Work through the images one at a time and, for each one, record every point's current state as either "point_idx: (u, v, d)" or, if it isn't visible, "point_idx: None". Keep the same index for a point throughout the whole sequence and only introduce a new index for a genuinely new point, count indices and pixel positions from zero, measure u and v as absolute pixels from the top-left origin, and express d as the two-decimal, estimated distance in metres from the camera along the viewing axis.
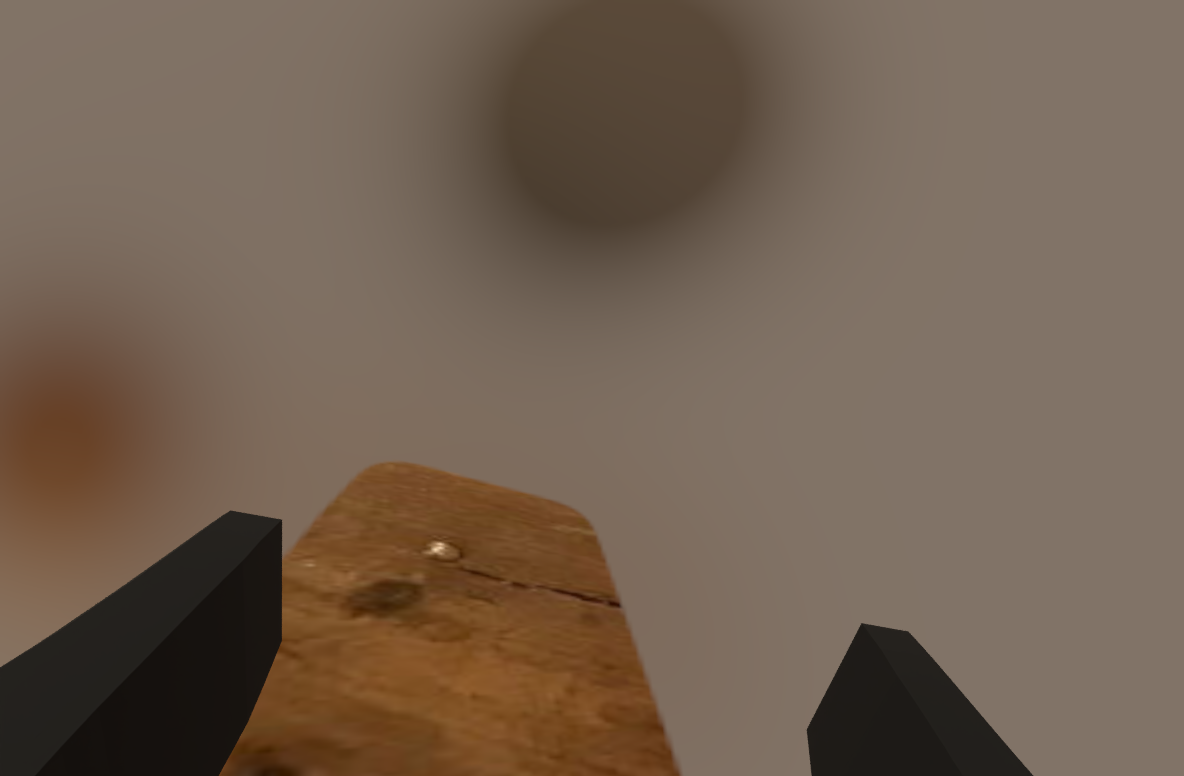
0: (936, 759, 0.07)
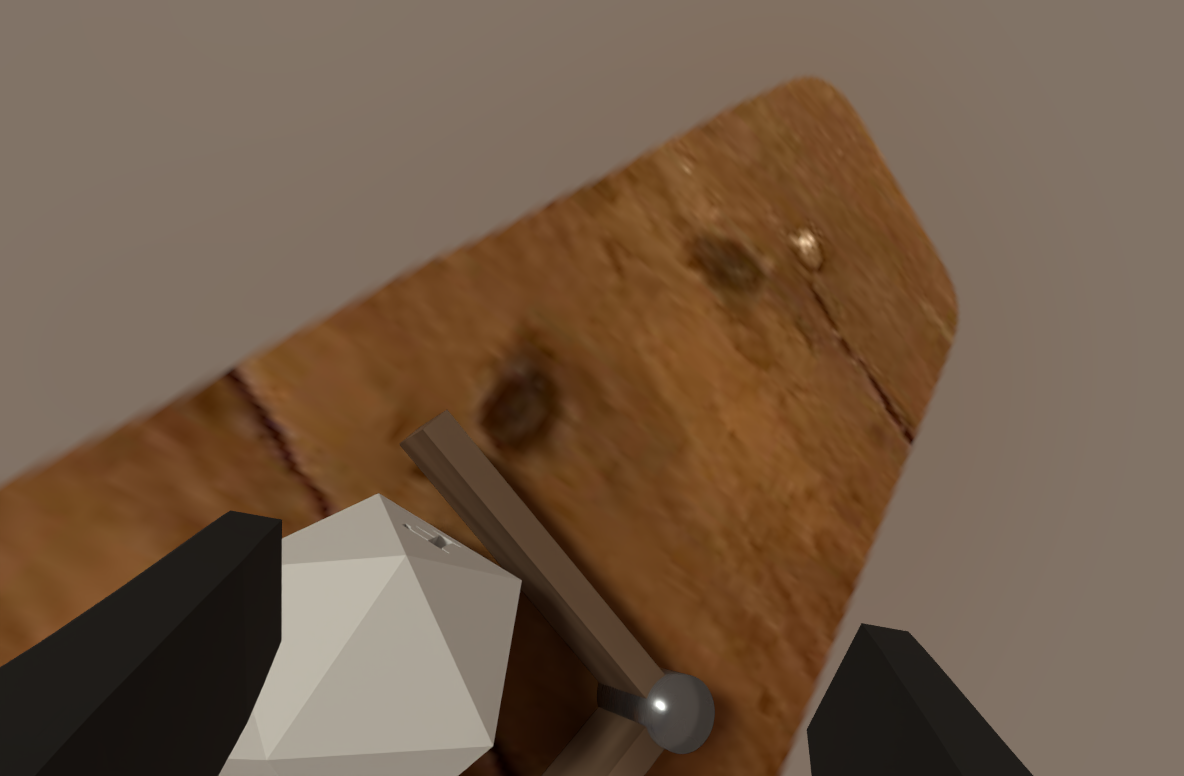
0: (936, 760, 0.07)
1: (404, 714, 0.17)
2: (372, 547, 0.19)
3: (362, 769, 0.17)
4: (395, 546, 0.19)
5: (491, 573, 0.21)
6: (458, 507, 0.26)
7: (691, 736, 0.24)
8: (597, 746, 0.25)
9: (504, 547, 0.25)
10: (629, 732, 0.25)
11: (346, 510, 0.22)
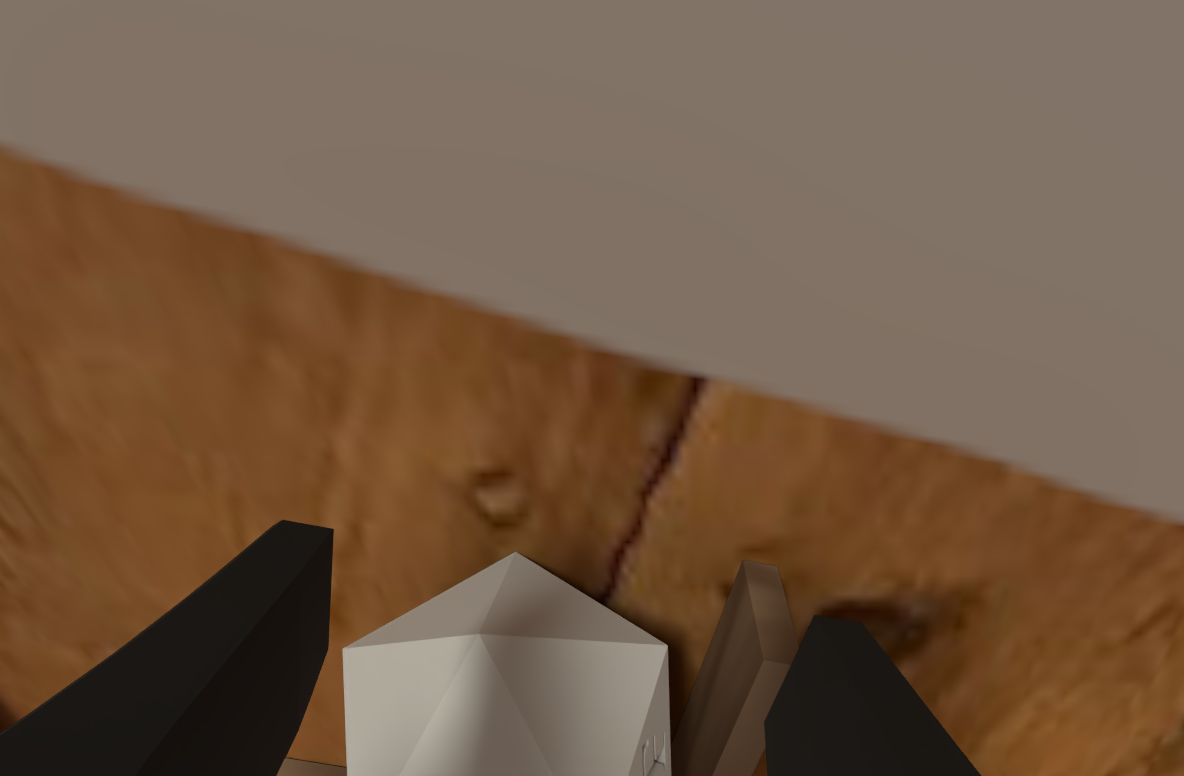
0: (877, 750, 0.07)
1: None
2: None
3: None
4: None
5: None
6: (716, 653, 0.22)
7: None
8: None
9: (703, 733, 0.21)
10: None
11: (625, 649, 0.18)
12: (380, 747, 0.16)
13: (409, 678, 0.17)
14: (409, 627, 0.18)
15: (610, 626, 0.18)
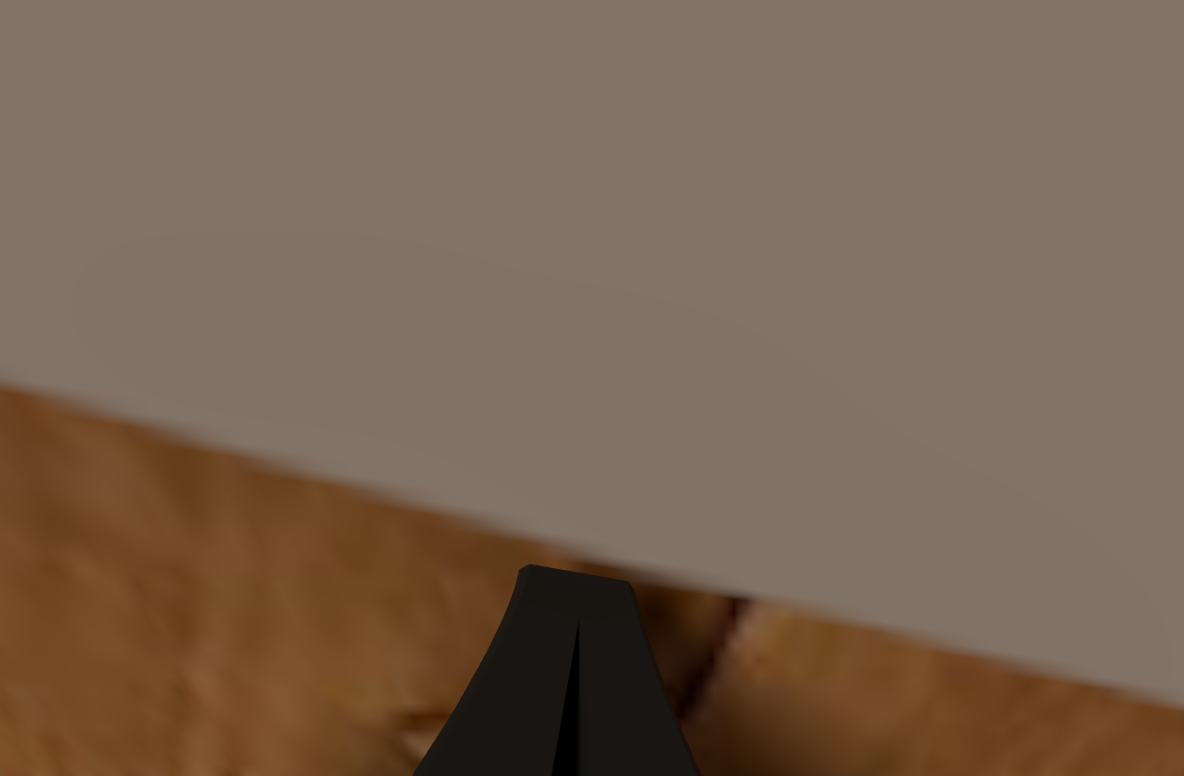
0: (581, 701, 0.07)
1: None
2: None
3: None
4: None
5: None
6: None
7: None
8: None
9: None
10: None
11: None
12: None
13: None
14: None
15: None
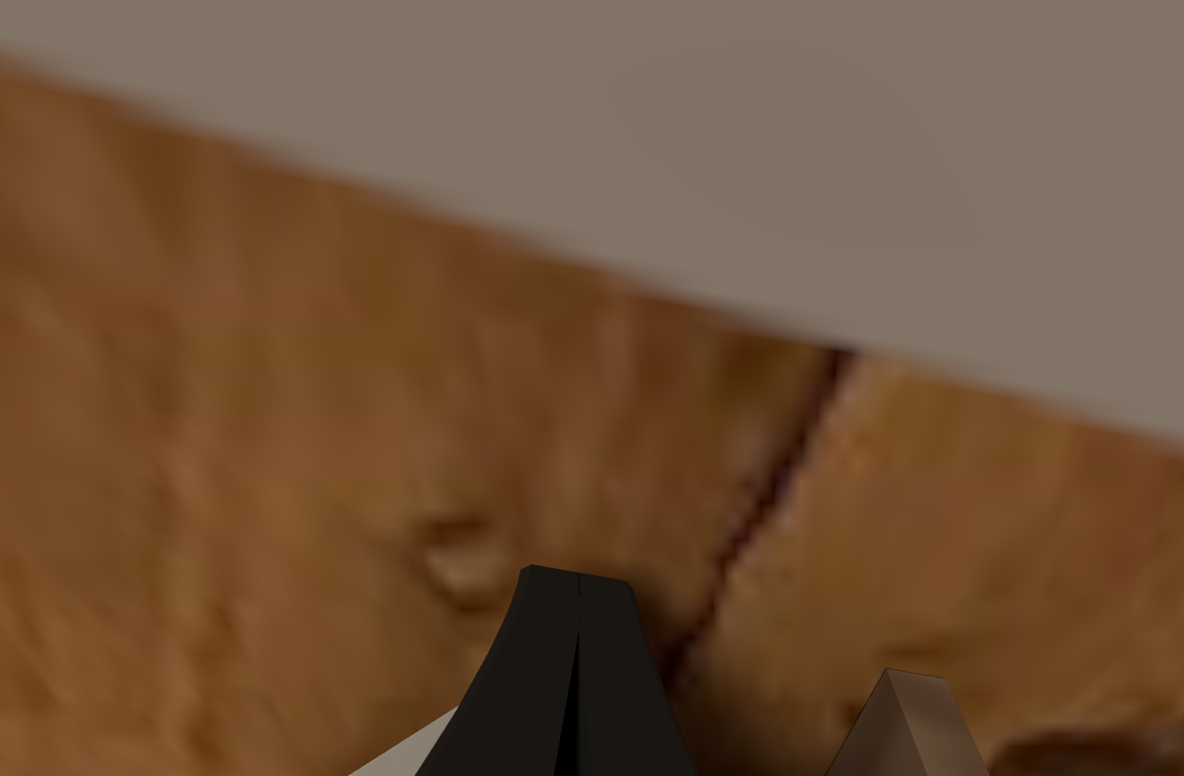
0: (580, 700, 0.07)
1: None
2: None
3: None
4: None
5: None
6: None
7: None
8: None
9: None
10: None
11: None
12: None
13: None
14: None
15: None
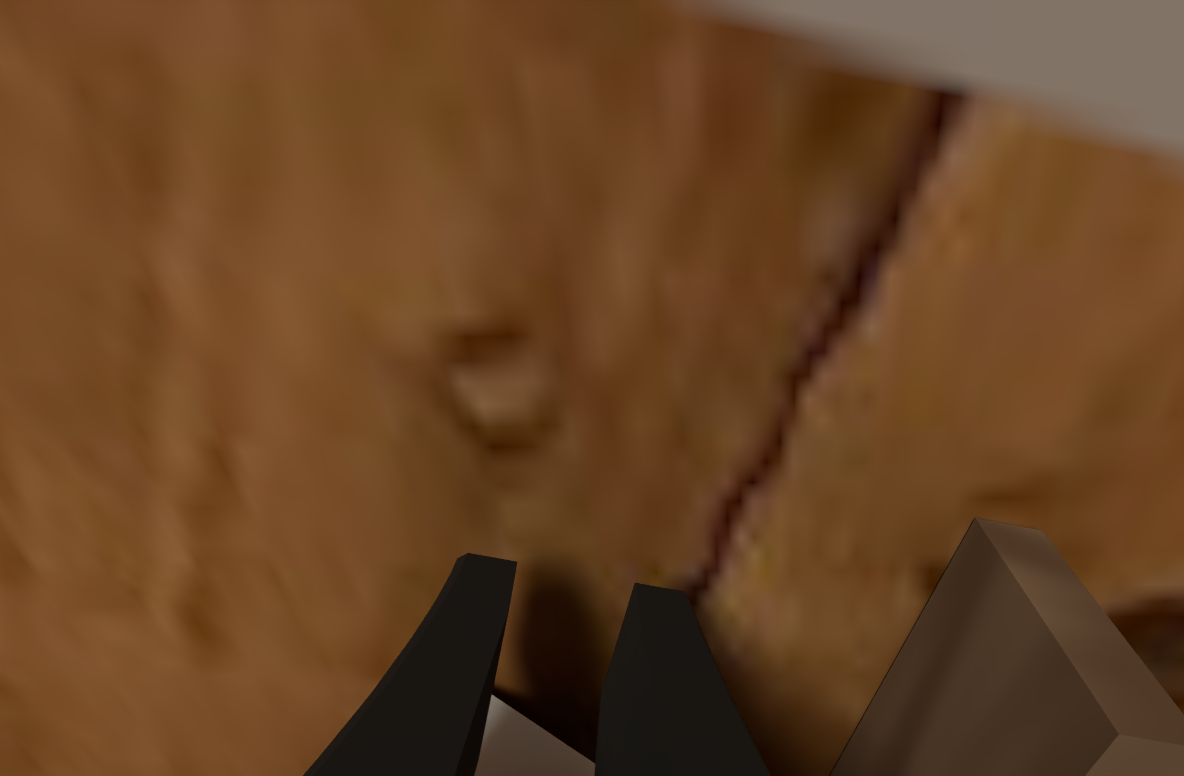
0: (652, 713, 0.07)
1: None
2: None
3: None
4: None
5: None
6: (908, 696, 0.11)
7: None
8: None
9: None
10: None
11: None
12: None
13: None
14: None
15: None
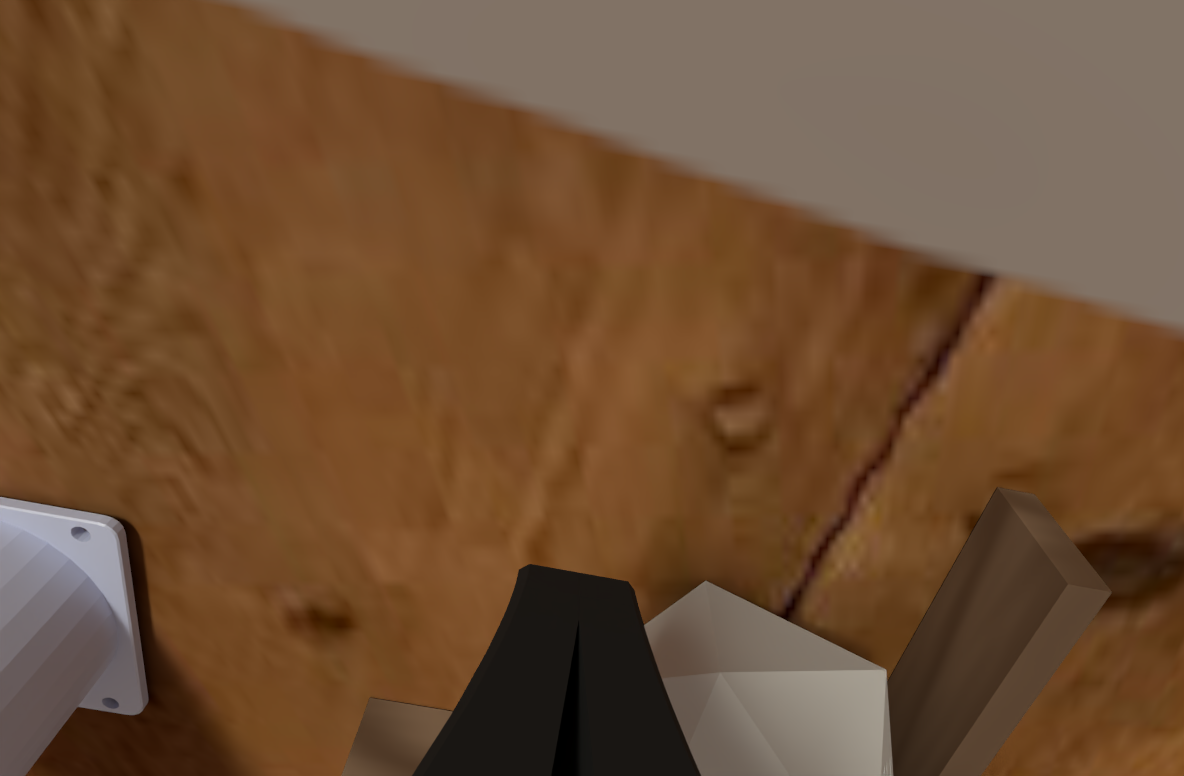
0: (581, 701, 0.07)
1: None
2: None
3: None
4: None
5: None
6: (958, 590, 0.20)
7: None
8: None
9: (947, 677, 0.20)
10: None
11: (850, 676, 0.18)
12: None
13: None
14: None
15: (827, 653, 0.18)
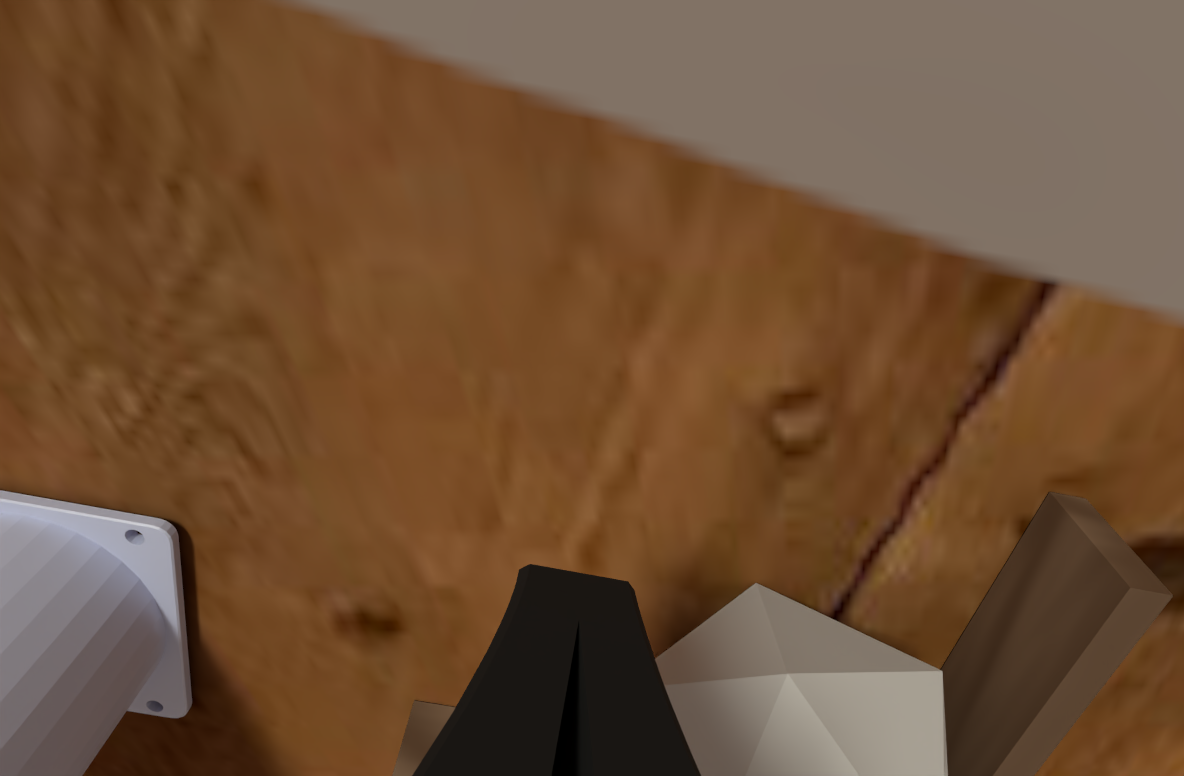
0: (582, 701, 0.07)
1: None
2: None
3: None
4: None
5: None
6: (1008, 594, 0.20)
7: None
8: None
9: (999, 679, 0.20)
10: None
11: (908, 678, 0.18)
12: None
13: (709, 719, 0.17)
14: (684, 666, 0.19)
15: (883, 655, 0.19)
